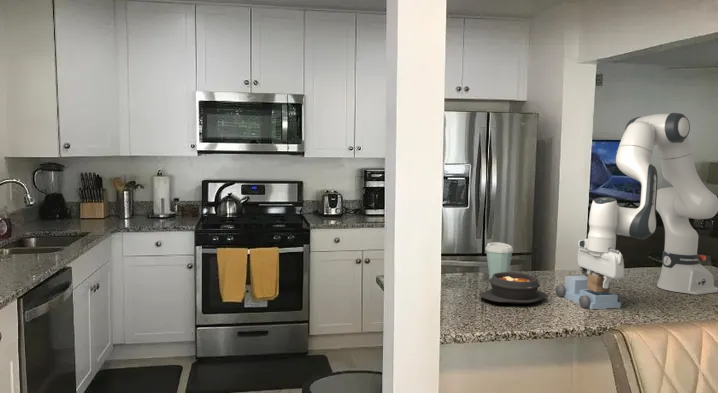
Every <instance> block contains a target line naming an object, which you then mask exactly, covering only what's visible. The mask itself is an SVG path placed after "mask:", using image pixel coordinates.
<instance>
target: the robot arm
mask: <svg viewBox="0 0 718 393" xmlns="http://www.w3.org/2000/svg"><path fill="white" fill-rule="evenodd" d="M690 131H691V123H690V121H689V119H688V117H687V116H685V114H684V113H679V112H671V113H654V114H649V115H644V116H636V117H634V118H631V119H630V120H629V121H628V122H627V123H626V126H625V128H624V132H623V134H622V137H621V140H620V141H619V145H618V147H617V151H616V155H615V164H616V167H617V168H618V169H619V171H621V172H622V174H624V175H626V176H627V177H629V178H631V179H634V180H636V181H637V182H639V183H640V185H641V188H640V189H641V190H640V200H639V202H640V204H639V207H637V208H632V207H623V206H620V205H618V201H617V199H616V198H614V197H610V196H609V197H605V196H603V197H596V198H595V199H593V200H592V203H591V204H590V210H589V218H588V226H589V231H588V234H587V238H585V239H579V240H578V242H577V245H578V250H577V257H576V258H577V259H576V260H577V265H578V267H582V268H585V269H588V270H587V272H586V273H587V275H588V274H592V273H599V274H602V275H604V278H605V279H604V281H603V282H601V287H602V288H608V286H609V282H610V283H611V281H612V279H616V280H617V279H623V278H624V277H625V276H624V275H625V262H624V258H623V254H622V253H621V251H620V250H619V249H616V246H617V245H616V244H617V243H616V242H617V236H618V235H619V236H624V237H631V238H633V239H634V238H635V239H638V240H645V239H647V238H649V237H651V236H652V235H653V234H654V233H655V231H656V229H657V213H658V214H659V216H660V218H661V220H662V223H663V227H664V250H663V251H662V257H661V258H662V259H661V260H662V265H661V269H660V273H659V279H658V281H657V284H656V287H658V288H659V289H662V290H664V291H670V292H675V293H684V294H689V295H695V296H697V295H705V294H706V295H707V294H713V293H718V286H716V285H715V278H714V275H713V274H712V272H710V271H709V270H708V269H707V268H706V267H704V266H703V265H702V264H701V261H703V262H704V261H706V260H707V256H706V255H704V254H700V255H699V254H698V248H699V233H698V232H697V230H696V229H694V228H693V226H692V224H691V223H690V221H689V220H690V219H693V220H694V219H695V220H707V219H712V218H713V217H715V216H716V214H718V196H717V195H716V194H715V193H713V192H712V191H710V189H709V188H707V187H706V185H705V184H704V183H703V181H702V179H701V177H700V176H699V174H698V172H697V169H696V168H697V167H696V165H695V160H694V155H693V149H692V145H691V142H690V139H689V133H690ZM654 146H657V154H658V158H659V164H660V165H659V166H660V168H661V169H660V170H661V174H662V177H663V178H664V180H665V181H667V182H668V183H669V184H671V186H669V187H663V188H659V189H658V178H659V177H658V171H657V170H658V169H657V167H656V166H654V165H653V164H652V154H653V151H654ZM656 211H657V212H656ZM582 268H581V269H582ZM609 287H610V286H609Z"/></svg>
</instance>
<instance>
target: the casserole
mask: <svg viewBox="0 0 718 393" xmlns="http://www.w3.org/2000/svg"><path fill="white" fill-rule="evenodd" d="M489 283H490V285H491V286H490V287H491V288H490V289H488V290H485V291H481V292H479V293H478V295H479V296H480V297H481V298H483V299H484V300H488V301H490V302H494V303H504V304H511V305H526V304H530V303H531V304H532V303H536V302H538V301H541V300H543V299H546V298H548V297H549V295H548V294H547V293H546V292H543V291H541V290H538V288H539V287H540V283H539V282H538V278H537V277H535V276H533V275H531V274H527V273H521V272H515V271H514V272H513V271H509V272H501V273H495V274H493V276H492V278H491V279H490V278H489Z"/></svg>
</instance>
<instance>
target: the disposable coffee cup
mask: <svg viewBox="0 0 718 393" xmlns="http://www.w3.org/2000/svg"><path fill="white" fill-rule="evenodd" d="M486 244H487V245H486V246H485V249H484V250H485V251H486V261H487V268H488V270H487V271H488V277H489V280H490V279H491V278H492V276H493V274H495V273H501V272H510V267H511V263H512V262H511V261H512V255H513V251H514V248H513V247H512V245H510V244H508V243H505V242H499V241H495V242H494V241H492V242H488V243H486Z"/></svg>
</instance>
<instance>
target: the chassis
mask: <svg viewBox="0 0 718 393" xmlns="http://www.w3.org/2000/svg"><path fill="white" fill-rule="evenodd" d="M587 281H588V277H587V276H583V275H567V276H566V275H565V276H564V285H563V284H558V285H556V286H555V293H556V294H555V295H556V296H558V297H562V298H565V299H567V300H570V301H571V300H572V301H571V302H574V303H576V302H577V303H576V304H578V303H579V304H578V305H579V306H580V308H582V307H583V309H584V308H585V309H586V308H587V309H589V308H590V309H589V310H591V309H599V310H607V309H606V308H618V309H621V306H622V305H623V301H624V300H623V297H622V295H621V294H620V293H614V292H610V291H609V292H594V291H592V290H589V289H587Z"/></svg>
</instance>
